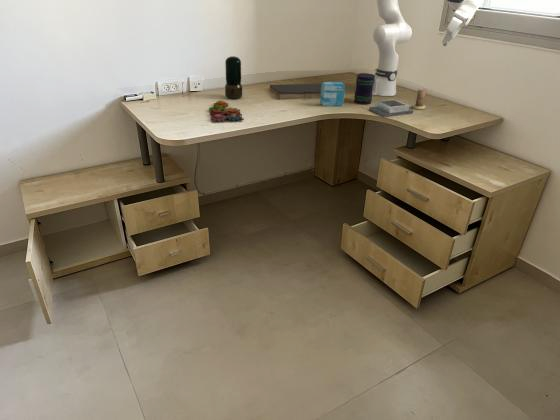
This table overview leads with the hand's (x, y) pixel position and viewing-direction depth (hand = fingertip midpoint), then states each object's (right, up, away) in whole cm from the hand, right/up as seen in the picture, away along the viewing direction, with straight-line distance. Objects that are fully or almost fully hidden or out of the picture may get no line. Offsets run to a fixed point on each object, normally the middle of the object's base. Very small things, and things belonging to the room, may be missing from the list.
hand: (443, 44), depth 217 cm
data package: (-55, -27, +16) cm, 64 cm away
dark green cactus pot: (-109, -21, +23) cm, 113 cm away
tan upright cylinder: (-7, -28, +17) cm, 34 cm away
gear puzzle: (-111, -36, -2) cm, 117 cm away
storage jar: (-37, -24, +23) cm, 50 cm away
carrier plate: (-24, -32, +9) cm, 41 cm away
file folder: (-70, -16, +36) cm, 81 cm away
